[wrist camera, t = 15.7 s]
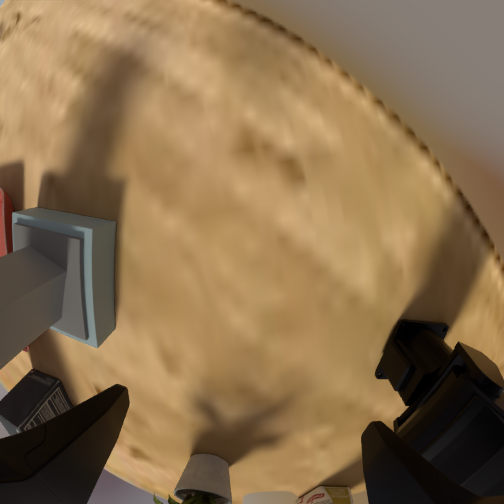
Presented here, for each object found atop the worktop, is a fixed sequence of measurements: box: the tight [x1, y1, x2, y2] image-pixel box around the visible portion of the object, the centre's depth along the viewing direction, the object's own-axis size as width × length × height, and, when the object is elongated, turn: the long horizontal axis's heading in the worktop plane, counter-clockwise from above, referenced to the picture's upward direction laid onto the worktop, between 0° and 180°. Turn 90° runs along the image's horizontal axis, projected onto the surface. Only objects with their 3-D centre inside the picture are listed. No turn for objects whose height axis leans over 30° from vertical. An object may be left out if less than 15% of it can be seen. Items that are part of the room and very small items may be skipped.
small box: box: [0, 369, 73, 435], centre depth 21 cm, size 11×6×10 cm, turn 179°
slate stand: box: [12, 207, 116, 348], centre depth 19 cm, size 10×10×4 cm
